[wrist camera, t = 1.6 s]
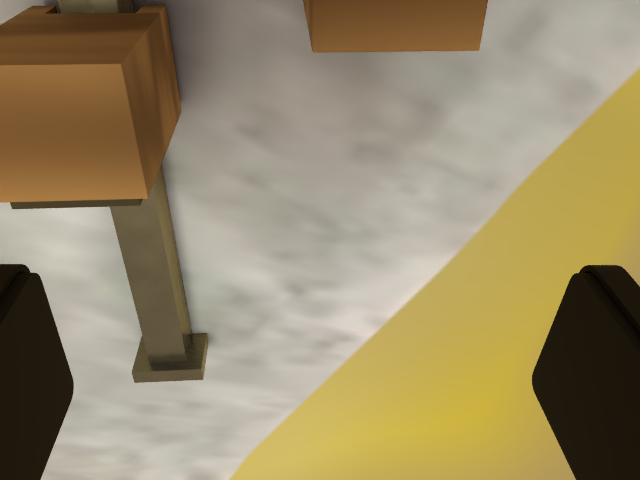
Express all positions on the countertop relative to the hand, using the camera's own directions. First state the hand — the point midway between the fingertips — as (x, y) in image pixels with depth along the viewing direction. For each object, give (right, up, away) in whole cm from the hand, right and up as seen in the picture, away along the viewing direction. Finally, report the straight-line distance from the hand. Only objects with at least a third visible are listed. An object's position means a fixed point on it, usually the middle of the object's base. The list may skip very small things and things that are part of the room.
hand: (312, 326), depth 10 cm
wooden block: (-10, +10, +16) cm, 21 cm away
